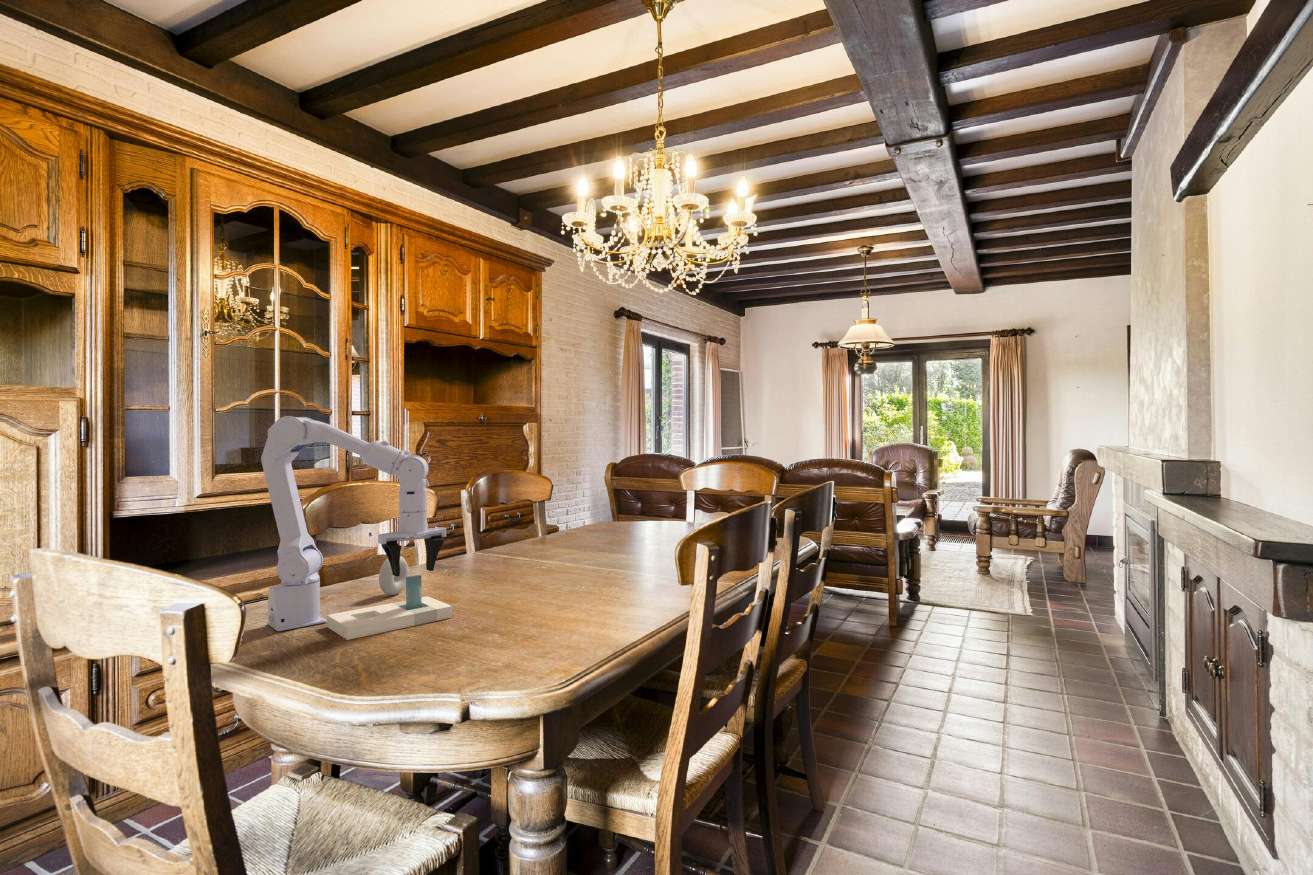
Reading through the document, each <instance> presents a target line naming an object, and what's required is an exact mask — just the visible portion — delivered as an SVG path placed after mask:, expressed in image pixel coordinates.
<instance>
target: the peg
mask: <svg viewBox="0 0 1313 875" xmlns="http://www.w3.org/2000/svg"><path fill="white" fill-rule="evenodd" d="M422 588H423V585H422V575H420V574H413V575H408V576H407V577H406V584H405V600H406V610H412V609H417V608H422V597H423V596H422V594H423V593H422Z"/></svg>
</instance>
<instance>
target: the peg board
mask: <svg viewBox="0 0 1313 875" xmlns="http://www.w3.org/2000/svg"><path fill="white" fill-rule="evenodd" d="M451 618H453V606H452V605H451V604H448V603H446V602H443V601H441V600H438V599H435V598H433V597H430V596H422V608H417V609H412V610H406V599H405V600H402V601H395V602H391V603H385V604H379V605H374V606H367V607H363V608H358V609H352V610H351V609H350V610H347V611H346V610H345V611H342V612H335V613H331V614H326V620H327V622H326V628H328V629H330V630H331V631H333V632H334V633H336V634H337V635H339V636H340V637H342V638H344V639H345V640H347V641H349V640H353V639H357V638H363V637H368V636H372V635H377V634H382V633H386V632H391V631H395V630H401V629H405V628H410V627H414V626H418V625H419V626H420V625H424V624H427V623H433V622H437V621H442V620H446V619H451Z"/></svg>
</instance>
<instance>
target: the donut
mask: <svg viewBox="0 0 1313 875" xmlns="http://www.w3.org/2000/svg"><path fill="white" fill-rule="evenodd" d="M407 576H409V565H408V563H407V560H406V559H405V557H403V556H401V555H400V576H394V575H393V574H392V569H391V565H390V562H389V560H388V557H387V558H386V559H385V560H384V561H383V562H382V564H381V566H380V570H379V573H378V584H379V587H380V589H381V591H382V592H383V593H384V594H385V595H387V596H396V595H398V594H399V593H401V592H402V591H403V589H404V588H406V577H407Z"/></svg>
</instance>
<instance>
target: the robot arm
mask: <svg viewBox="0 0 1313 875" xmlns="http://www.w3.org/2000/svg"><path fill="white" fill-rule="evenodd" d="M313 443H327V444H330V445H332V446H335V447H337V448H340V449H342V450H345V451H348V452H351V453H353V454H356V455H357V456H358V455H359V456H361V457H362V459H363V461H364V463H365V465H367V466H369V467H371V468H374V469H377V470H379V471H381V472H383V473H385V474H388V475H390V476H396V477H397V479H398V480H399V491H398V500H399V504H398V505H399V506H398V507H399V508H398V519H399V520H398V524H399V525H398V526H399V527H398V528H399V529H398V530H397V531H392V532H391V531H390V532H386V533H379V534H377V544H380V545H381V548H382V550H383V551H384V553H385V554H386V557H387V558H388V560H389V562H390V565H391V569H392V574H393V575H394V576H400V556H401V552H402V547H403V546H402V545H401V544H399V542H407V541H416V540H424V541H423V542H424V546H425V557H426V558H425V561H426V562H425V566H426V567H425V568H426V571H429V572H433V571H434V569H435V566H436V562H437V558H438V555H439V552H440V550H441V549H442V547H443V545H444V543H445V537H447V528H446V527H443V526H442V527H441V526H440V527H430V528H428V511H427V510H428V489H427V479H426V477H427V476H428V474H429V470H430V468H429V464H428V462H427V461H426V460H425V459H424V458H423V457H421V456H420V455H416V454H415V455H414V454H413V455H411V451H409V450H408V449H407V450H405V451H404V450H401V449H399V448H397V447H394V446H392V445H390V444H391V443H390V441H388V440H385V439H383V440H382V441H380V440H375V441H372V442H368V441H365V440H363V439H361V438H359V437H357V436H354V435H353V434H350V433H349V432H346V431H344V430H342V429H340V428H338V427H336V426H333V425H332V424H329V423H326V422H323V421H320V420H314V419H312V418H310V417H307V416H301V417H300V416H298V417H297V416H291V415H286V416H281V417H280V418H278V419H277V420H276V421H275V422H273V424H272V425H271V426H270V427H269V428H268V429H267V438H266V441H265V445H264V448H263V451H262V453H261V456H260V458H261V465H262V470H263V473H264V474H263V475H264V477H265V480H266V486H267V491H268V494H269V499H270V502H271V503H270V504H271V506H272V510H273V515H274V519H275V522H276V528H277V530H278V535H279V540H280V541H279V543H278V544H279V545H278V549H277V551H276V553H277V557H278V563H277V565H276V573H277V576H278V578H279V579H280V580H281V582H280V583H278V584H275V585H271V586H269V589H268V592H267V595H268V596H267V600H268V601H267V605H268V606H267V610H268V611H267V614H268V620H267V625H269V626H270V627H271V628H272V629H274V630H276V632H282V631H287V630H288V631H289V630H292V629H298V628H303V627H308V626H314V625H318V624H324V623H327V618H324V617H323V616H321V597H320V596H321V592H320V591H321V589H320V587H321V586H320V584H321V583H320V581H321V580H320V578H321V576H320V575H319V573H318V572H319V571H320V569H322V567H323V564H324V556H323V554H322V552H321V551H320V550H319V549H318V548H317V545H316V544H315V540H314V538H313V537H312V536H311V535H310V534H309V532H308V529H307V524H306V519H305V516H304V512H303V507H302V503H301V498H300V495H299V491H298V485H297V483H296V478H295V474H294V470H293V469H294V468H293V466H292V462H293V461H294V460H295V459H296V457H297V456H298V455H299V454H300V453H301V451H302V450H304V449H306V448H308V447H309V446H310V445H312V444H313Z"/></svg>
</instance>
